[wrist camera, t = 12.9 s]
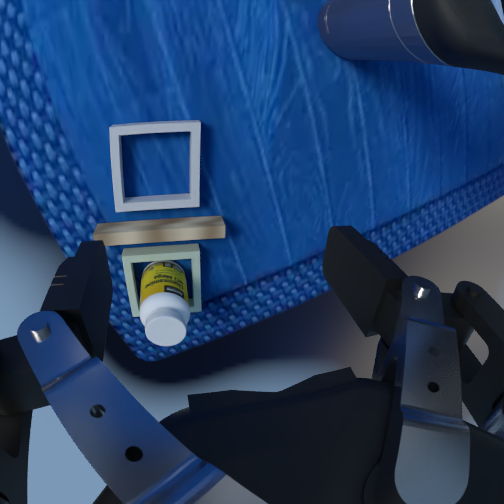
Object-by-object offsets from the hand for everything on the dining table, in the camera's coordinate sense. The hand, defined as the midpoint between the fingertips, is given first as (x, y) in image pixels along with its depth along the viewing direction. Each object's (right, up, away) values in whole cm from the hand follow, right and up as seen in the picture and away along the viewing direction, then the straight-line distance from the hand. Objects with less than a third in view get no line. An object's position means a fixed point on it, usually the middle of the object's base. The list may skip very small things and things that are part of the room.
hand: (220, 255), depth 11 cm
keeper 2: (-11, -3, +32) cm, 34 cm away
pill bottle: (-11, -3, +32) cm, 34 cm away
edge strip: (-11, +3, +28) cm, 30 cm away
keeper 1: (-10, +10, +24) cm, 28 cm away
